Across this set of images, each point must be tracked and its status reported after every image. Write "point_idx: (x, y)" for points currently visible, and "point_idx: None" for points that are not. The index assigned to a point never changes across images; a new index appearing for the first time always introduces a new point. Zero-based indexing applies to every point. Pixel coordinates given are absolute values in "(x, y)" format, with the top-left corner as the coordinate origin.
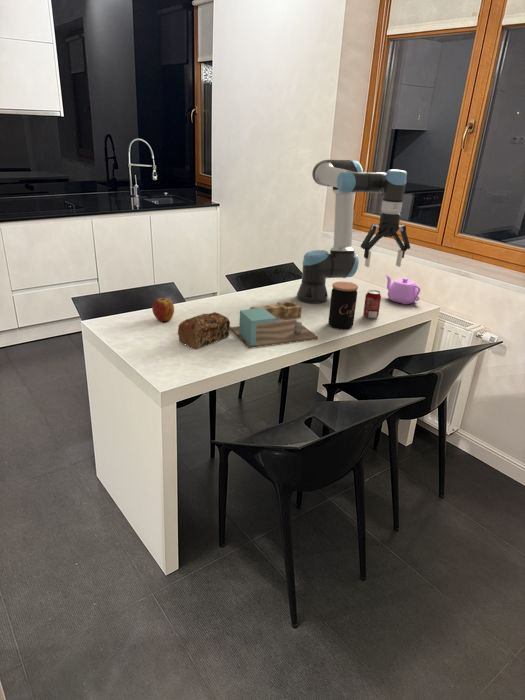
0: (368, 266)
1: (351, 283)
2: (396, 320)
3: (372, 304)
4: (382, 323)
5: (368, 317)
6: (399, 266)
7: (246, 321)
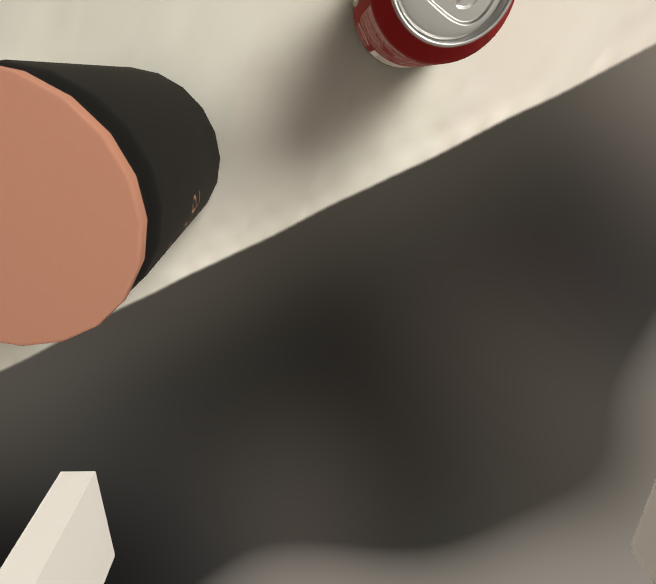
0: (101, 563)
1: (83, 154)
2: (549, 97)
3: (399, 58)
4: (428, 142)
5: (371, 54)
6: (646, 551)
7: None
